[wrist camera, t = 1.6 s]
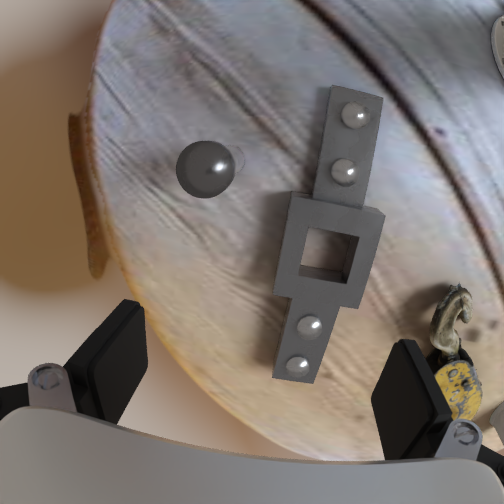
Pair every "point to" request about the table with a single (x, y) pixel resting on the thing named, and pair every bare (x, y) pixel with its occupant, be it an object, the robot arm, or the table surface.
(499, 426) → the grey black mug
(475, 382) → the pulley block
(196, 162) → the steel pin
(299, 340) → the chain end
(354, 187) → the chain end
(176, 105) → the table surface
